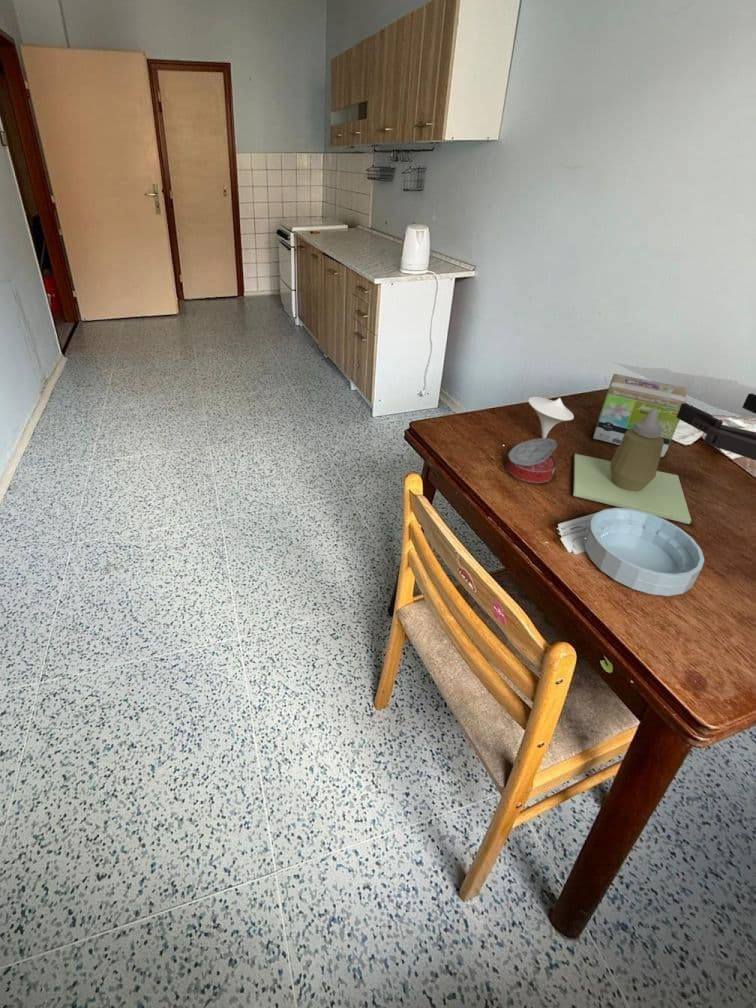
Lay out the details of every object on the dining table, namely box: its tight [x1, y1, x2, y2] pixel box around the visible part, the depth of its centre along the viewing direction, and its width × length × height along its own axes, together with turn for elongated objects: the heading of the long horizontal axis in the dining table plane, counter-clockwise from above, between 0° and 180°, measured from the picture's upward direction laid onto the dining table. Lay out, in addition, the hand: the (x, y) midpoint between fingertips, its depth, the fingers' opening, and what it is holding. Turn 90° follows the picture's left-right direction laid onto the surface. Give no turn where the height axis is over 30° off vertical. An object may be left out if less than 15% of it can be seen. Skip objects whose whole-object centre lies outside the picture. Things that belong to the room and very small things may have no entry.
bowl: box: [584, 507, 705, 597], centre depth 82 cm, size 16×16×5 cm
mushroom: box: [527, 396, 575, 438], centre depth 115 cm, size 10×11×12 cm
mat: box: [572, 453, 692, 525], centre depth 101 cm, size 20×16×1 cm
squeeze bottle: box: [610, 408, 664, 491], centre depth 96 cm, size 8×8×18 cm
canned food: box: [505, 437, 558, 484], centre depth 106 cm, size 11×10×10 cm
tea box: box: [592, 373, 687, 458], centre depth 114 cm, size 15×10×15 cm, turn 55°
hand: (714, 405), depth 81 cm, fingers open, 13 cm apart
